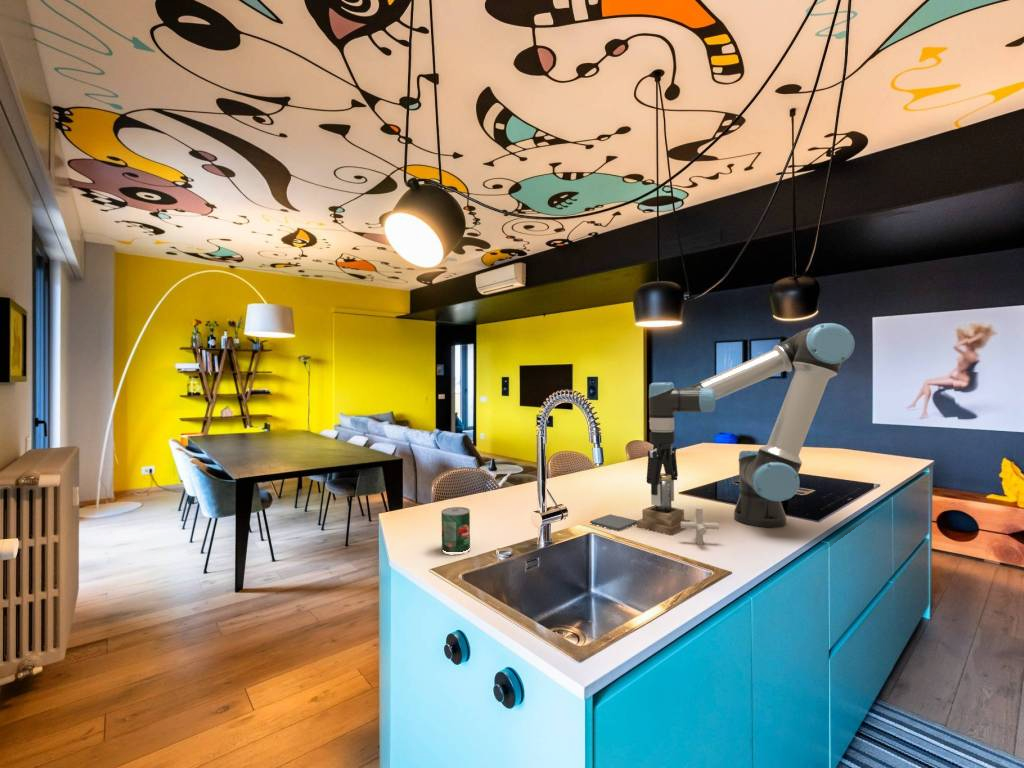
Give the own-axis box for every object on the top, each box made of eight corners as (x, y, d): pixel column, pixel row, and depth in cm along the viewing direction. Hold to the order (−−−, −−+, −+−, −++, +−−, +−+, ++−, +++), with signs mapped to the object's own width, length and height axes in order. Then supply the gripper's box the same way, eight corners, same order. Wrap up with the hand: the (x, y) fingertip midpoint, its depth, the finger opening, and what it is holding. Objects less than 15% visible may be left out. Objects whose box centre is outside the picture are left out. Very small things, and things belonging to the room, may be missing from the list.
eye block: (690, 526, 147) (690, 509, 147) (671, 535, 139) (671, 517, 139) (655, 519, 156) (655, 502, 156) (636, 527, 148) (636, 509, 148)
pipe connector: (722, 550, 126) (722, 513, 126) (683, 548, 128) (683, 512, 128) (714, 538, 136) (713, 504, 136) (678, 536, 138) (677, 503, 138)
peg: (674, 520, 147) (674, 474, 147) (666, 523, 144) (666, 477, 144) (660, 517, 151) (659, 472, 151) (652, 520, 148) (651, 474, 148)
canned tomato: (471, 554, 126) (470, 513, 126) (441, 556, 124) (441, 515, 124) (469, 544, 133) (468, 506, 134) (441, 546, 132) (441, 507, 132)
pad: (638, 523, 151) (638, 520, 151) (618, 531, 144) (618, 528, 144) (609, 517, 159) (609, 514, 159) (590, 524, 152) (590, 520, 152)
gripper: (667, 427, 157) (668, 495, 157) (633, 432, 143) (634, 506, 143) (688, 429, 152) (689, 498, 152) (655, 434, 138) (656, 511, 138)
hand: (662, 502), depth 147 cm, fingers open, 8 cm apart
